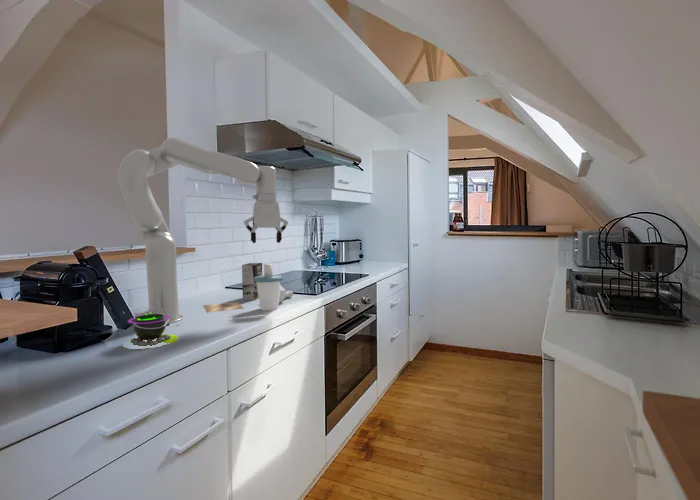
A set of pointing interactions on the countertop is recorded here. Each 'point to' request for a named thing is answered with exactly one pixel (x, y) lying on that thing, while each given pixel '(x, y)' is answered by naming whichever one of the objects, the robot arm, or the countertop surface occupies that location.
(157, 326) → the toy cauldron
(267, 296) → the cup
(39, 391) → the countertop surface
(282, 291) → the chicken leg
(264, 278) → the lid
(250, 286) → the coffee box
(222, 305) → the board
